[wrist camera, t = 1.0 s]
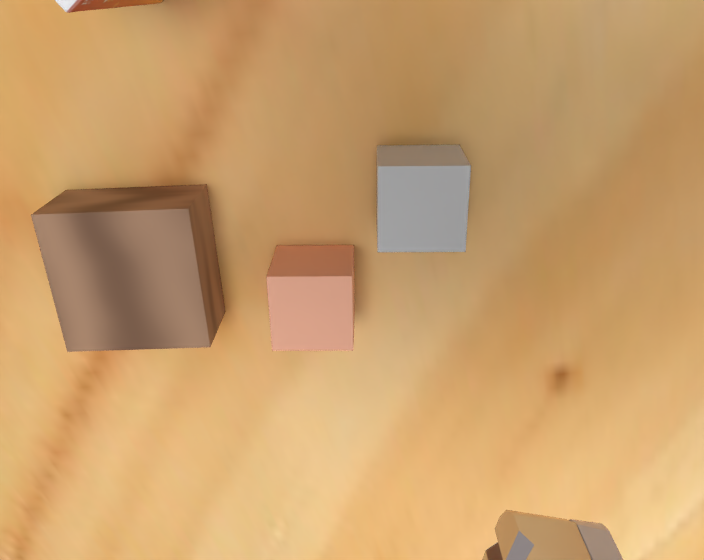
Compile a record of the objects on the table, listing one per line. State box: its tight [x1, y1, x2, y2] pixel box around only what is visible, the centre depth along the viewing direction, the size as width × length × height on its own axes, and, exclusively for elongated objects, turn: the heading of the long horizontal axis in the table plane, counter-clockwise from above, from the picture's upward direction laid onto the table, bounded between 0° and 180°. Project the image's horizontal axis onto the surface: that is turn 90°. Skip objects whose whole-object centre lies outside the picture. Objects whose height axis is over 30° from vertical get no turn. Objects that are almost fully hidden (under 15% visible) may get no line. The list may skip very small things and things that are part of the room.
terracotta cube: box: [267, 245, 355, 351], centre depth 41 cm, size 5×5×5 cm
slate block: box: [377, 145, 471, 252], centre depth 38 cm, size 5×5×5 cm
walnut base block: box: [31, 184, 225, 352], centre depth 41 cm, size 9×9×5 cm
